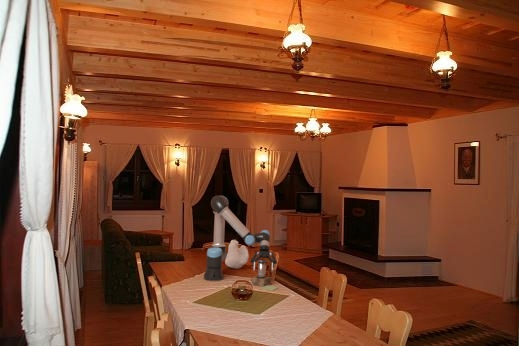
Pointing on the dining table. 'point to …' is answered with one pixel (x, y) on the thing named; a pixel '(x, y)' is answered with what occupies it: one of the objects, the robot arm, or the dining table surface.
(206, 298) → the dining table surface
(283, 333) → the dining table surface
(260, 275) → the silver metallic cylinder
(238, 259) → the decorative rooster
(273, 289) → the mat
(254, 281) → the collar
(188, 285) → the dining table surface
